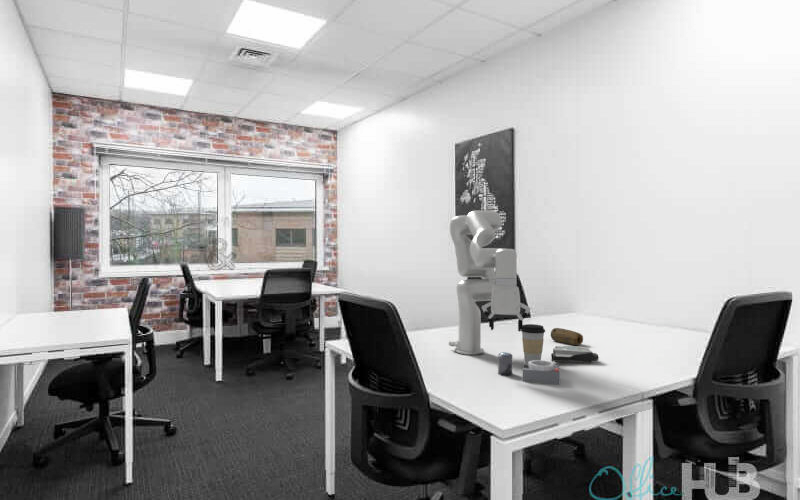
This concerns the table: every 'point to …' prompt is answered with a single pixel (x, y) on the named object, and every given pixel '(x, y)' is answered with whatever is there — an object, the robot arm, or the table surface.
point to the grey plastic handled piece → (573, 354)
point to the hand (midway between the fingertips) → (505, 330)
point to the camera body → (541, 372)
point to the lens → (505, 364)
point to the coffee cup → (532, 341)
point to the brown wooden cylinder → (566, 336)
